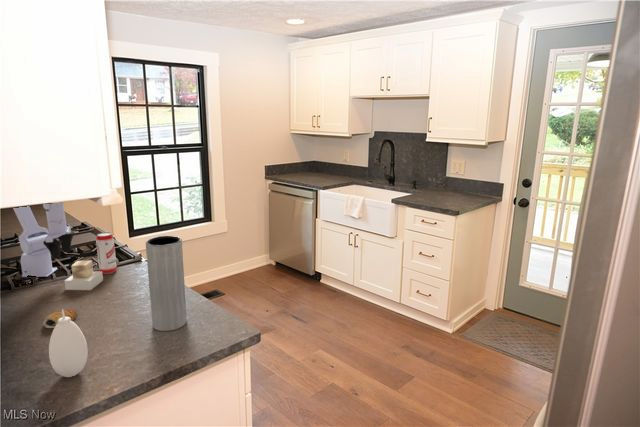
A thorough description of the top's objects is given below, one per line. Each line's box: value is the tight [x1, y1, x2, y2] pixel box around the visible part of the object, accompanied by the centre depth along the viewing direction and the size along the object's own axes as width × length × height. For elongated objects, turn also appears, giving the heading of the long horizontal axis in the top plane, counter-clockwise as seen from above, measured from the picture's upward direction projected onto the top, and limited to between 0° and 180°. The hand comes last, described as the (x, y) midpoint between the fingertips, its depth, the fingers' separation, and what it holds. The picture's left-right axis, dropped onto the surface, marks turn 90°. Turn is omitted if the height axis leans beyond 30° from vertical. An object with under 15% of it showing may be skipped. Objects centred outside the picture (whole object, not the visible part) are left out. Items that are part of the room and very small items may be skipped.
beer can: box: [95, 231, 118, 275], centre depth 163 cm, size 6×6×16 cm
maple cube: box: [70, 260, 94, 278], centre depth 151 cm, size 5×5×5 cm
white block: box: [64, 270, 104, 291], centre depth 152 cm, size 9×9×4 cm
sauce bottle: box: [48, 308, 89, 378], centre depth 99 cm, size 8×8×18 cm
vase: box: [145, 235, 187, 332], centre depth 123 cm, size 10×10×27 cm
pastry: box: [42, 308, 78, 329], centre depth 126 cm, size 9×7×4 cm
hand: (61, 255), depth 153 cm, fingers open, 7 cm apart
